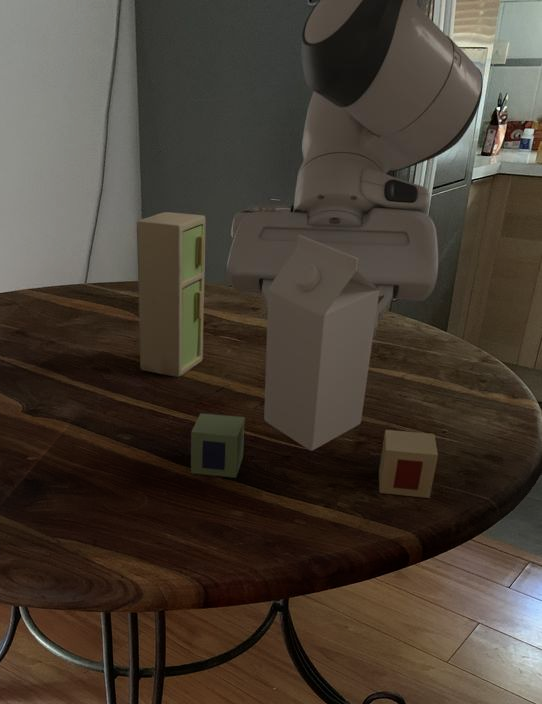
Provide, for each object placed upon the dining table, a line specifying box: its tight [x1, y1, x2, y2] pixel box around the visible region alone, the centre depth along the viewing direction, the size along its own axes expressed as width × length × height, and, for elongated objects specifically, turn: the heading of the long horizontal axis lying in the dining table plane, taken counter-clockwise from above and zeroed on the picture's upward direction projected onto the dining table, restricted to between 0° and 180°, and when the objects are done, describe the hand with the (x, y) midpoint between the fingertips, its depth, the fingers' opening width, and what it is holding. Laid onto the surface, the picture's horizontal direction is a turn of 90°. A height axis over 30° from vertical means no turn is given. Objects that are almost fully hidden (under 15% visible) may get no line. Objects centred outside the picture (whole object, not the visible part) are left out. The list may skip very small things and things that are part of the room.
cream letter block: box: [378, 429, 439, 499], centre depth 76 cm, size 5×5×5 cm
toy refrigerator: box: [136, 211, 207, 378], centre depth 104 cm, size 8×7×21 cm
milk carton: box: [263, 235, 380, 452], centre depth 70 cm, size 7×7×19 cm
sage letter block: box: [190, 413, 246, 479], centre depth 81 cm, size 5×5×5 cm
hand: (322, 330), depth 71 cm, fingers closed on milk carton, 7 cm apart
